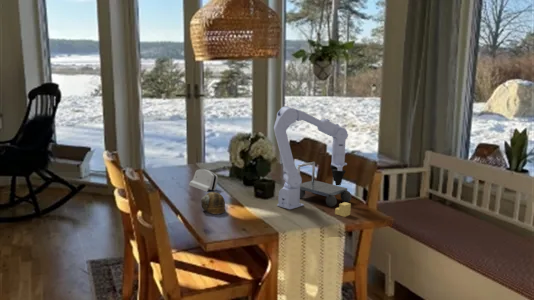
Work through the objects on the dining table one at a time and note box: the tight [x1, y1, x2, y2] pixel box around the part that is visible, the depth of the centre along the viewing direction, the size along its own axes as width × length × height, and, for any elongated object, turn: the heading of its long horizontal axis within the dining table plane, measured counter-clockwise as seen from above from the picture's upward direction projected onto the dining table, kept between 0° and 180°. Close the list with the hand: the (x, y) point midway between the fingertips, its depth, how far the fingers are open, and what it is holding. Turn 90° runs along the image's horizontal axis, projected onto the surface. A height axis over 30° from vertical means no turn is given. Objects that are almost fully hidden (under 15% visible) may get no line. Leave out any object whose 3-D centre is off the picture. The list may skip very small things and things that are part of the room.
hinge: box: [189, 168, 219, 193], centre depth 250 cm, size 17×5×10 cm, turn 41°
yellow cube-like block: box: [334, 201, 352, 218], centre depth 211 cm, size 4×5×5 cm
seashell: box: [200, 191, 227, 215], centre depth 212 cm, size 11×9×8 cm
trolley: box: [296, 161, 352, 208], centre depth 232 cm, size 14×24×16 cm, turn 45°
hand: (336, 182), depth 225 cm, fingers open, 7 cm apart
